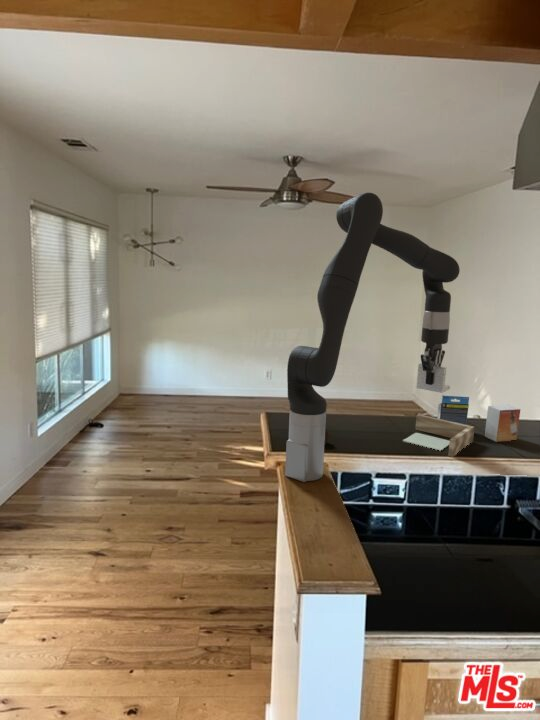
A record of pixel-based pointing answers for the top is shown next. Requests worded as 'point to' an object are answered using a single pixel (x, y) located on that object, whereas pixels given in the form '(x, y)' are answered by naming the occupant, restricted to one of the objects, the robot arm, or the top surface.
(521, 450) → the top surface
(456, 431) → the corner walls
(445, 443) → the pad
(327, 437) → the bolt
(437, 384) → the angle bracket
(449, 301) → the robot arm
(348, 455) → the top surface
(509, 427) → the small box
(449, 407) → the label tape box
